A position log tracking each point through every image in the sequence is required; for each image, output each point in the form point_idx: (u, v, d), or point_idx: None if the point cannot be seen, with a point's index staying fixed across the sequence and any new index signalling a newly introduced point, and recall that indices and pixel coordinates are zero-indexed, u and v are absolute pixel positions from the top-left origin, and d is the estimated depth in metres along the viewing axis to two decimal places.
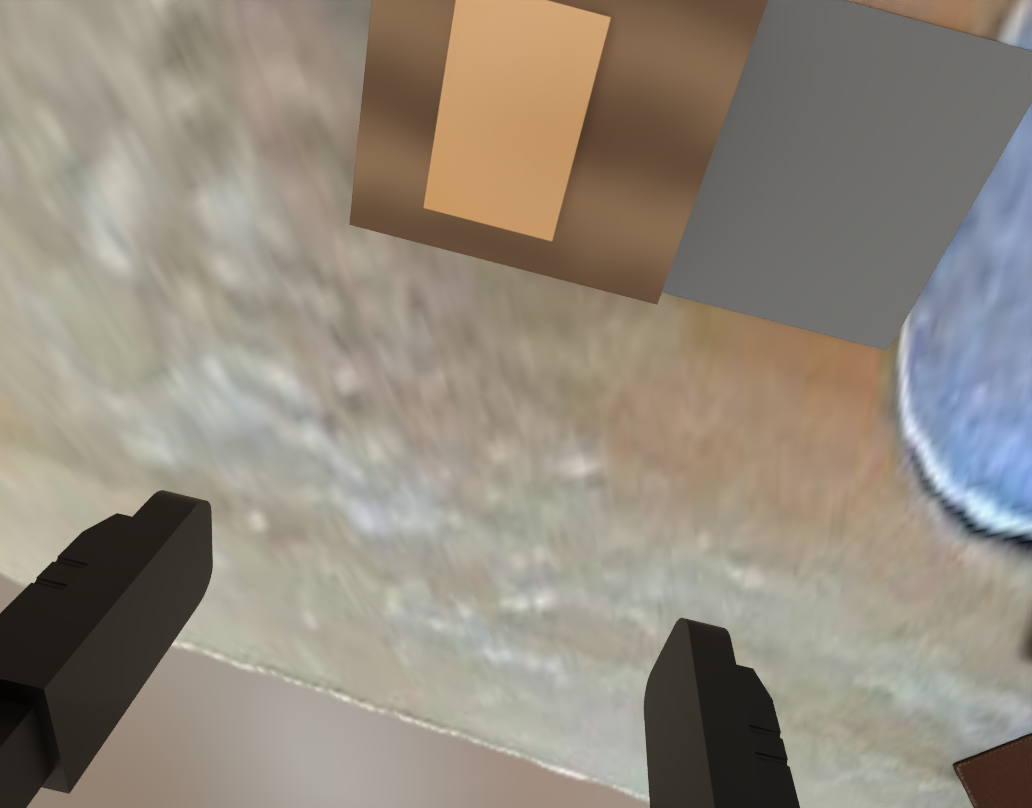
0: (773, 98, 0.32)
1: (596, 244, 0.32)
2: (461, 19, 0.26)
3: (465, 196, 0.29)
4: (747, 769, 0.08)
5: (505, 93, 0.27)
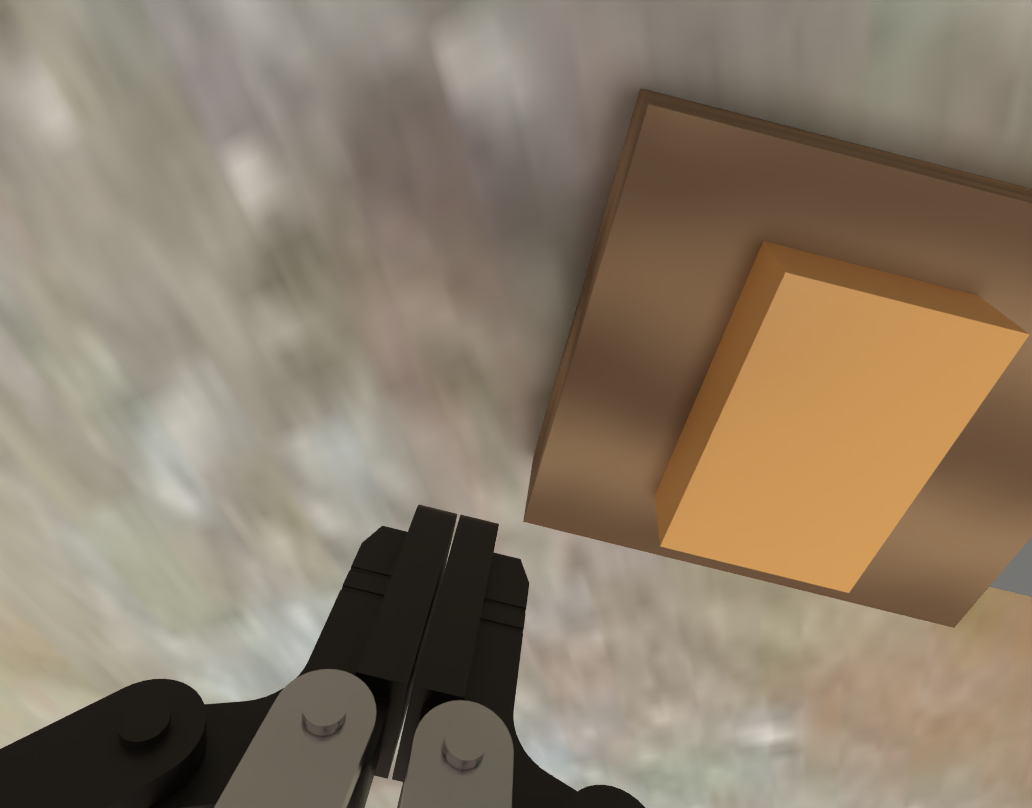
0: None
1: (883, 560, 0.23)
2: (775, 327, 0.16)
3: (728, 537, 0.20)
4: (467, 627, 0.09)
5: (824, 421, 0.17)
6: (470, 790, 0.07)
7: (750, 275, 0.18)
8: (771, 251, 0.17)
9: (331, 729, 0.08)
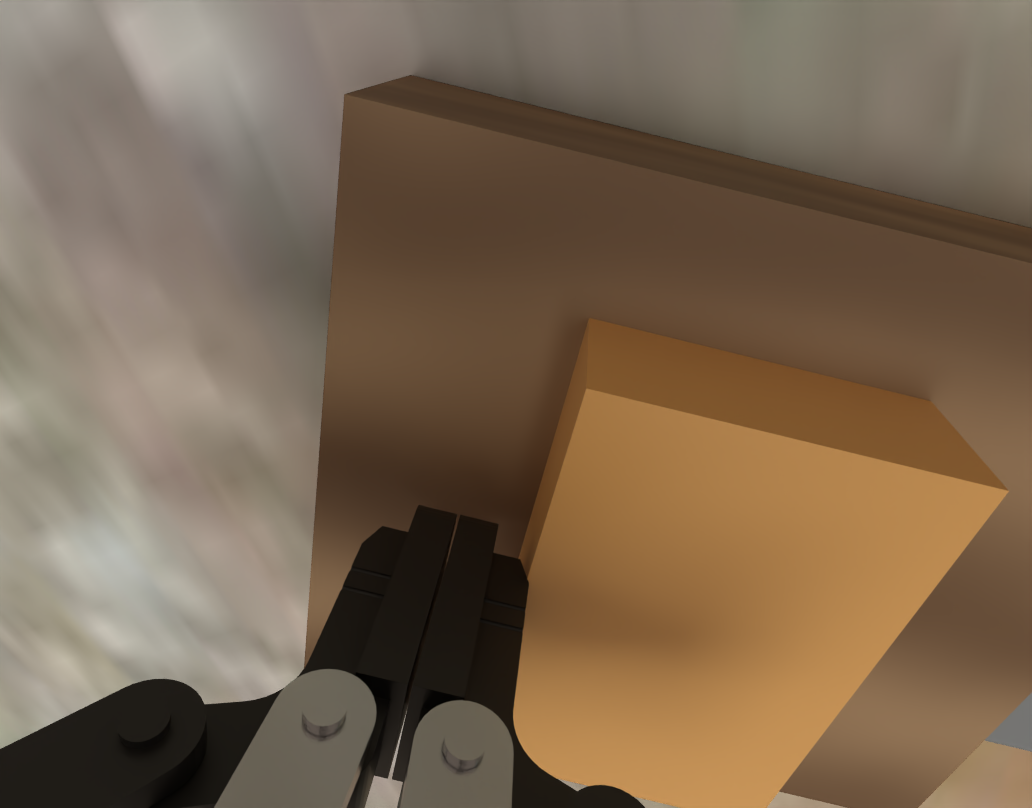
0: None
1: None
2: (584, 473, 0.10)
3: (566, 750, 0.13)
4: (467, 627, 0.09)
5: (685, 607, 0.11)
6: (470, 790, 0.07)
7: (575, 369, 0.12)
8: (589, 340, 0.10)
9: (332, 730, 0.08)
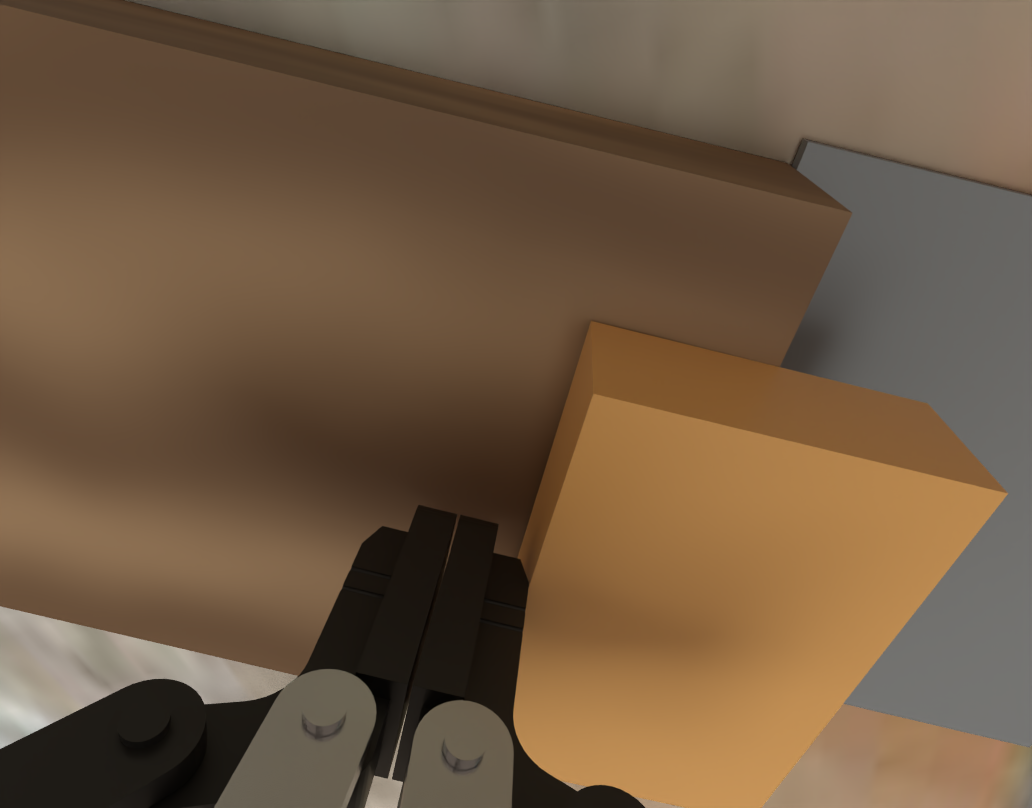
0: (830, 368, 0.15)
1: None
2: (589, 478, 0.10)
3: (566, 752, 0.13)
4: (467, 627, 0.09)
5: (686, 610, 0.11)
6: (470, 790, 0.07)
7: (576, 372, 0.12)
8: (593, 343, 0.10)
9: (331, 730, 0.08)
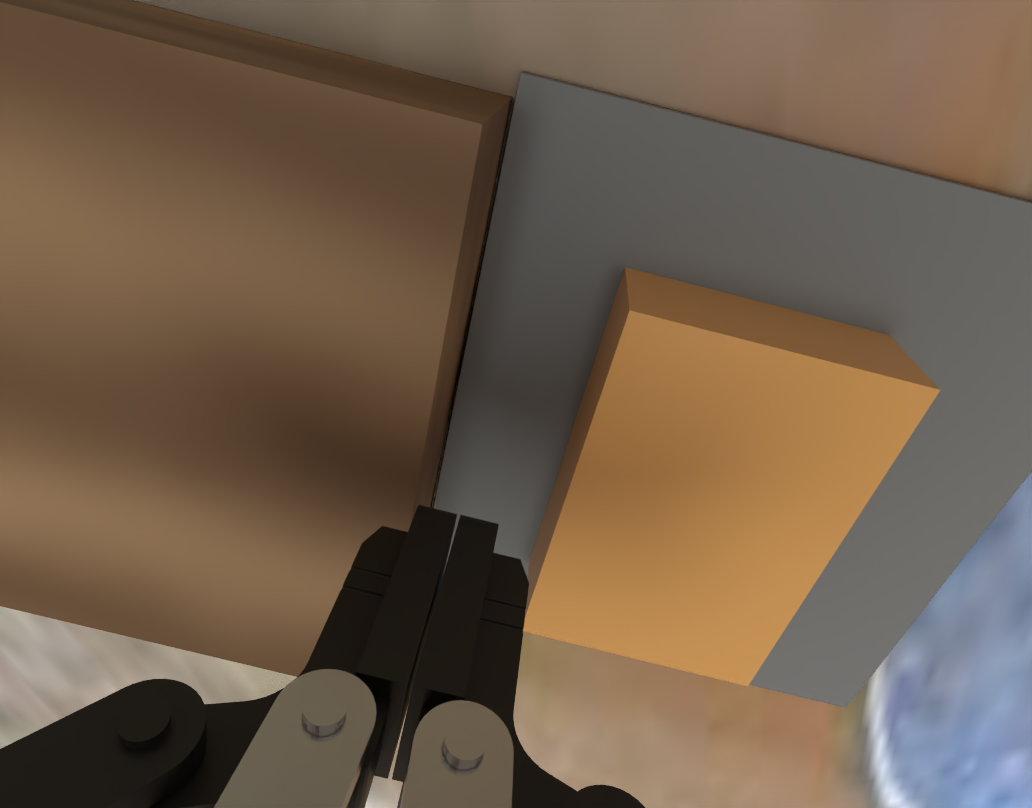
0: (584, 311, 0.15)
1: (234, 604, 0.16)
2: None
3: None
4: (467, 627, 0.09)
5: None
6: (470, 790, 0.07)
7: (910, 427, 0.13)
8: (919, 368, 0.13)
9: (331, 730, 0.08)
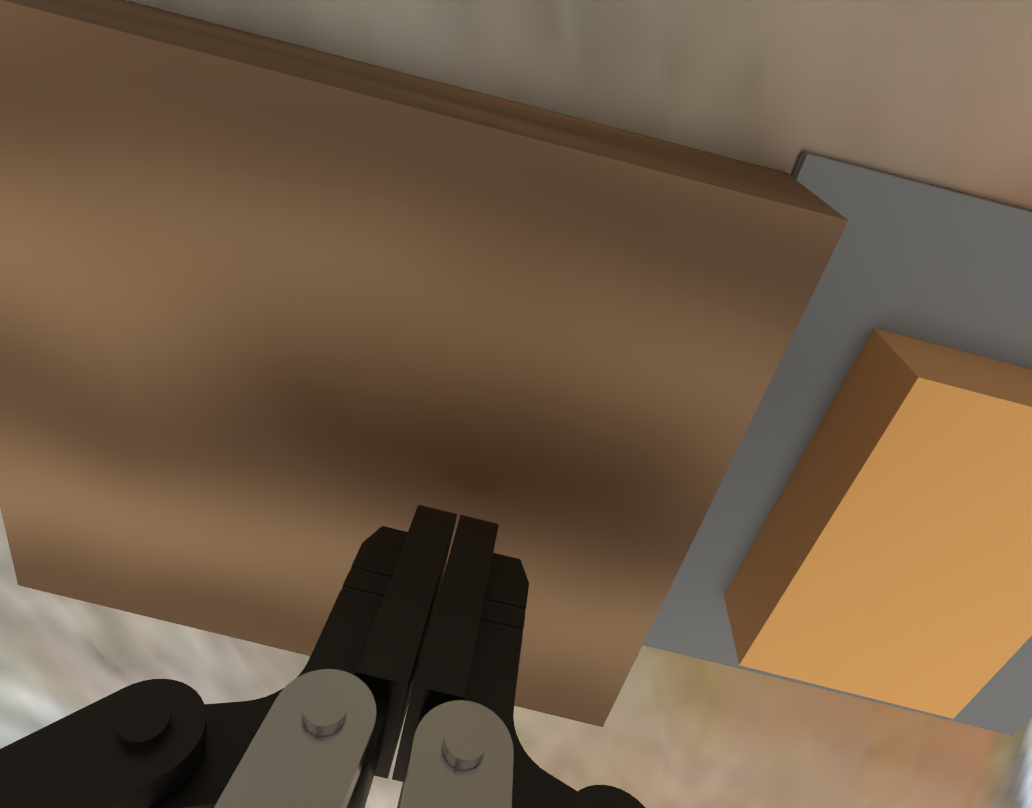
0: (825, 367, 0.16)
1: None
2: None
3: None
4: (467, 627, 0.09)
5: None
6: (470, 790, 0.07)
7: None
8: None
9: (331, 730, 0.08)
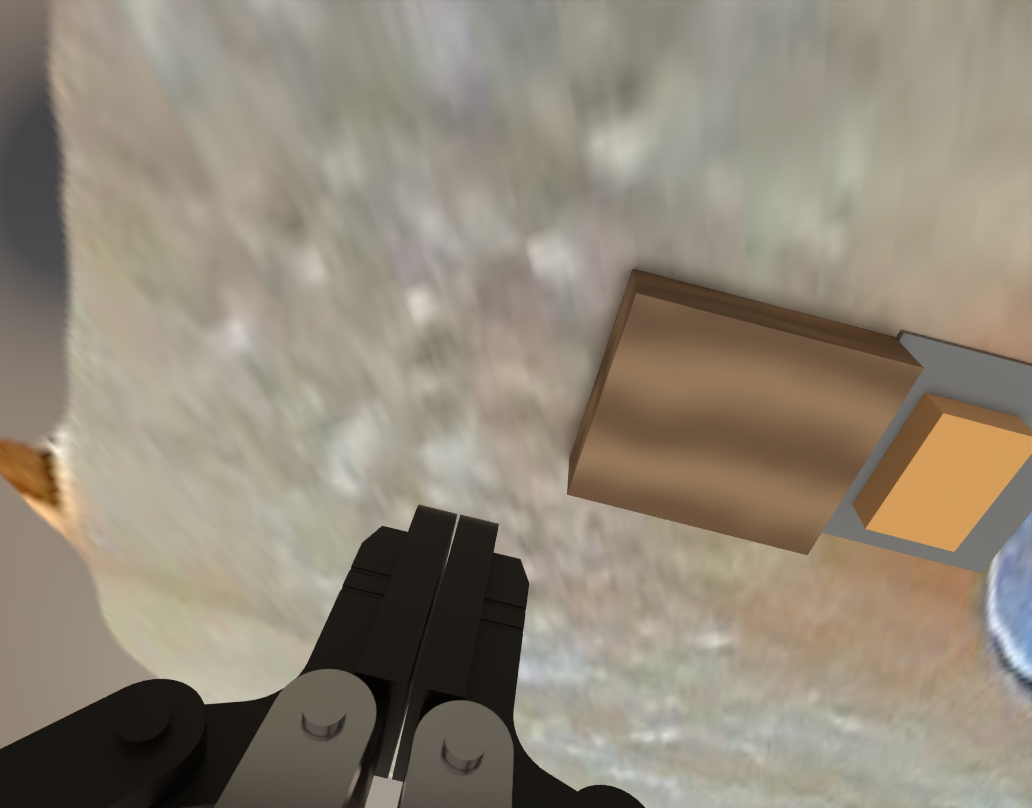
0: (905, 406, 0.41)
1: (764, 515, 0.41)
2: None
3: None
4: (467, 627, 0.09)
5: None
6: (470, 790, 0.07)
7: (1031, 451, 0.39)
8: None
9: (331, 730, 0.08)
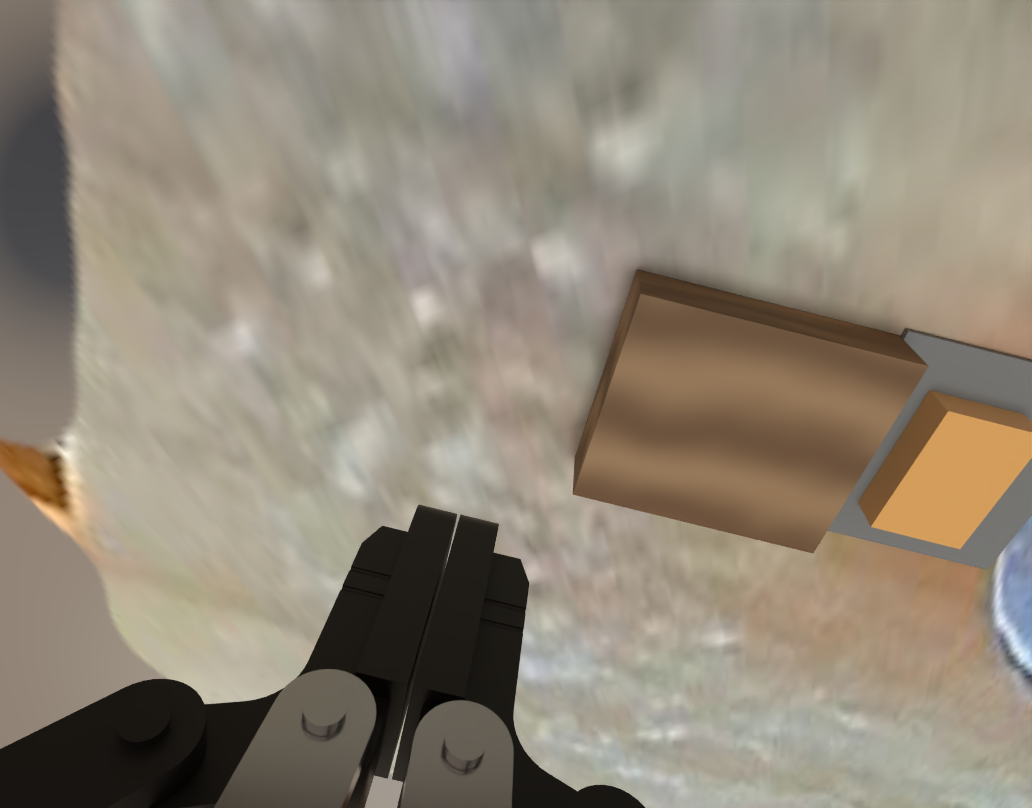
0: (910, 404, 0.41)
1: (770, 514, 0.42)
2: None
3: None
4: (467, 627, 0.09)
5: None
6: (470, 790, 0.07)
7: None
8: None
9: (332, 730, 0.08)
